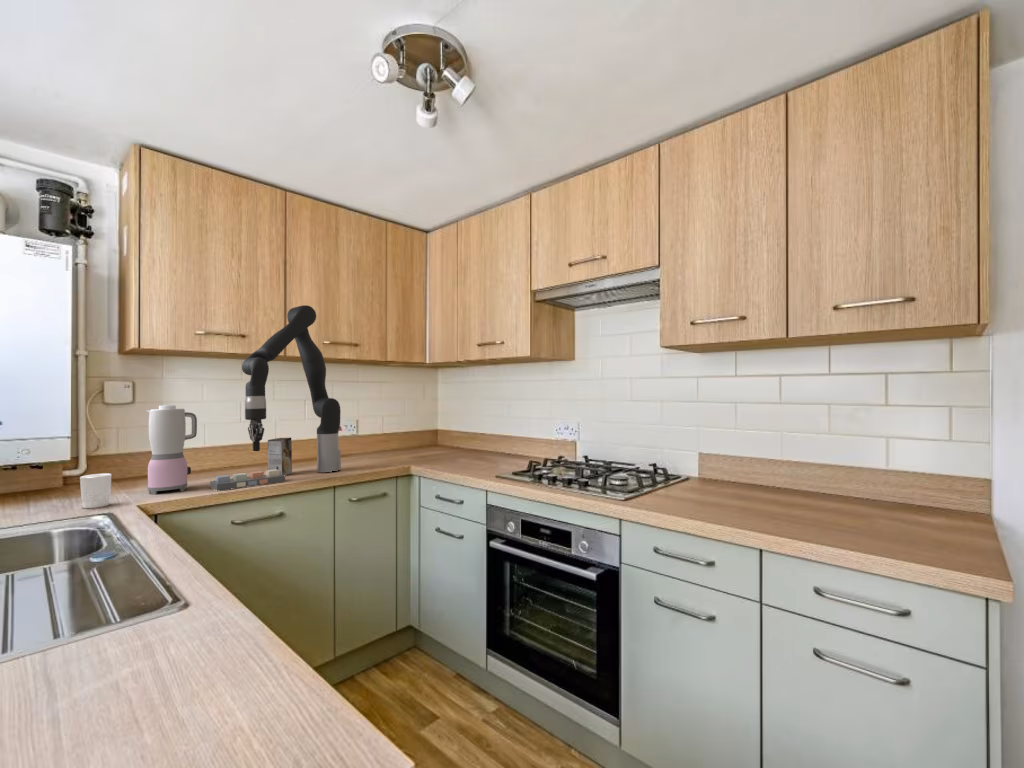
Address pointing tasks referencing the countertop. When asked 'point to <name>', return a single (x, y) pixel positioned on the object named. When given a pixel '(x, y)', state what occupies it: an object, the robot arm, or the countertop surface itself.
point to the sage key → (239, 476)
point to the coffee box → (280, 455)
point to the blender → (168, 448)
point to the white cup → (95, 490)
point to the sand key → (272, 472)
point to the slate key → (222, 479)
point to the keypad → (246, 482)
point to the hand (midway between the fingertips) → (256, 450)
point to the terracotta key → (256, 474)
